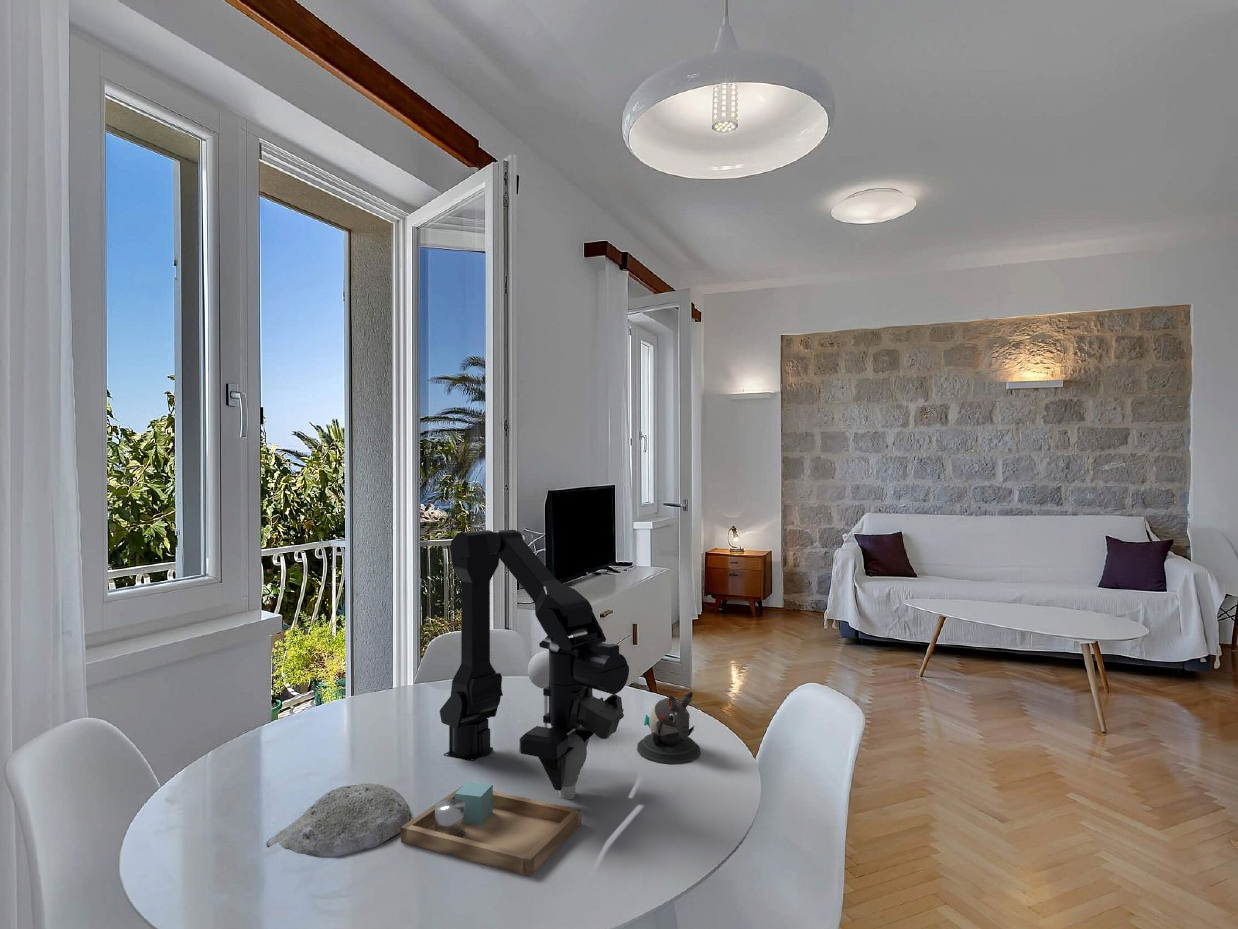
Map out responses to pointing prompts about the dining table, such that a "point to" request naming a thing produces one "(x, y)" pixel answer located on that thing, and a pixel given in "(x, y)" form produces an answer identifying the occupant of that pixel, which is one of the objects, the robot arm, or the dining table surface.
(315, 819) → the stone
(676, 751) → the figurine
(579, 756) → the light bulb
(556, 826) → the tray
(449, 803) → the grey metal cylinder
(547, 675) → the lollipop
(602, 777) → the dining table surface
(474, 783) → the teal block
